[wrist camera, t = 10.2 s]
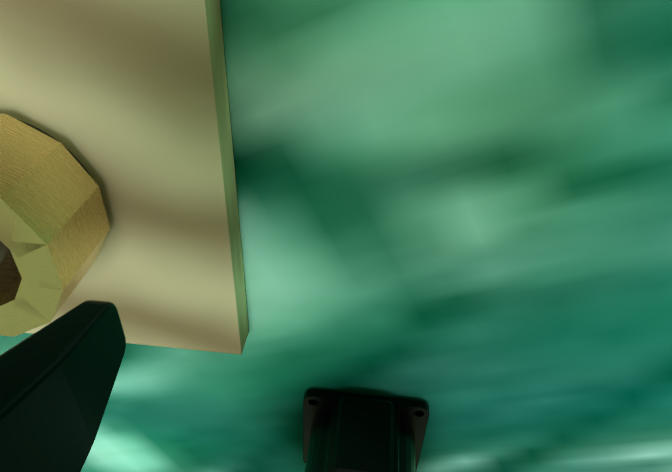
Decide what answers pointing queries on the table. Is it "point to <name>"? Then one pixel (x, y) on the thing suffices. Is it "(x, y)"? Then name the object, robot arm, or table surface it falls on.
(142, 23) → the stand
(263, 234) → the table surface
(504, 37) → the table surface
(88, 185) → the ring
